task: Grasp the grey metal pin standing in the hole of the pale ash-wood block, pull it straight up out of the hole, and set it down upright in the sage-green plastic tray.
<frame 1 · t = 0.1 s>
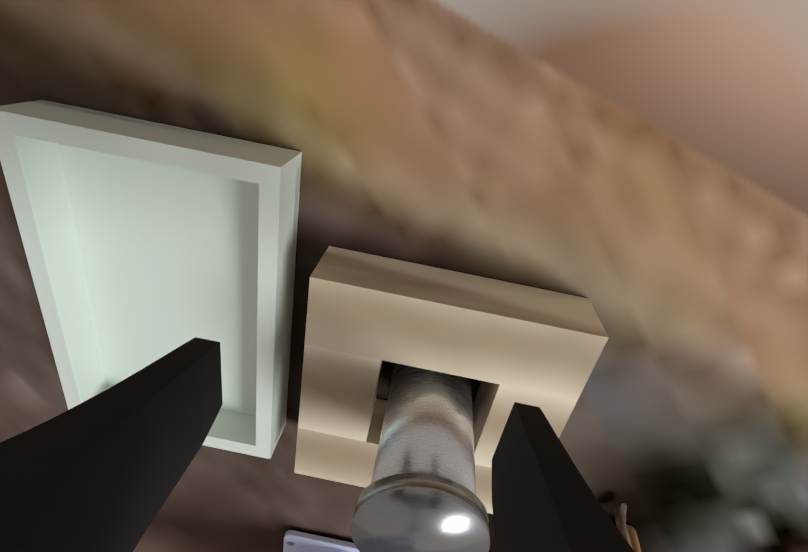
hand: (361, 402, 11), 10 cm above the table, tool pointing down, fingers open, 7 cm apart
metal pin: (426, 438, 19), in the pin block
pin block: (431, 371, 23), on the table
tray: (185, 289, 22), on the table
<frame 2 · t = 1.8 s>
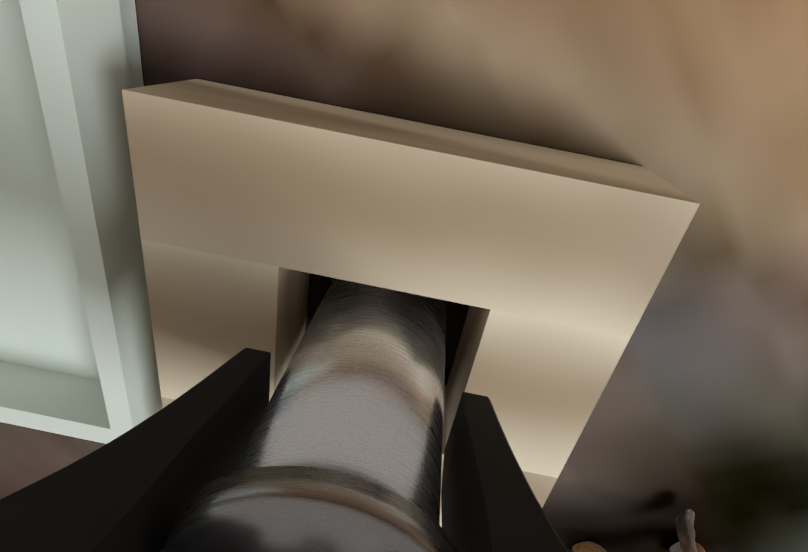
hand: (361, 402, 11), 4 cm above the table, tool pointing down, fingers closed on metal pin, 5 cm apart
metal pin: (360, 407, 11), in the pin block, touching gripper
pin block: (385, 310, 14), on the table
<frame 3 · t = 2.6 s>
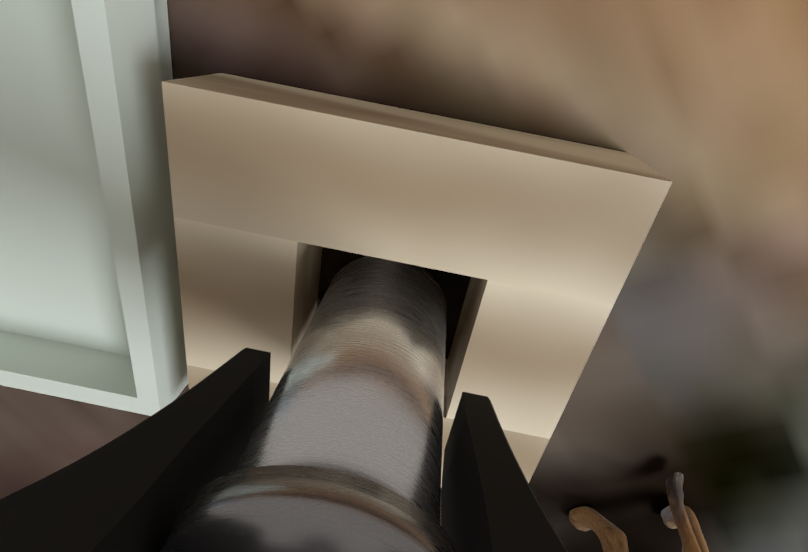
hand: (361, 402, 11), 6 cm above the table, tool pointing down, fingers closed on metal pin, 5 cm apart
metal pin: (360, 407, 11), point 6 cm above the table, touching gripper
pin block: (391, 288, 16), on the table
tray: (22, 161, 15), on the table
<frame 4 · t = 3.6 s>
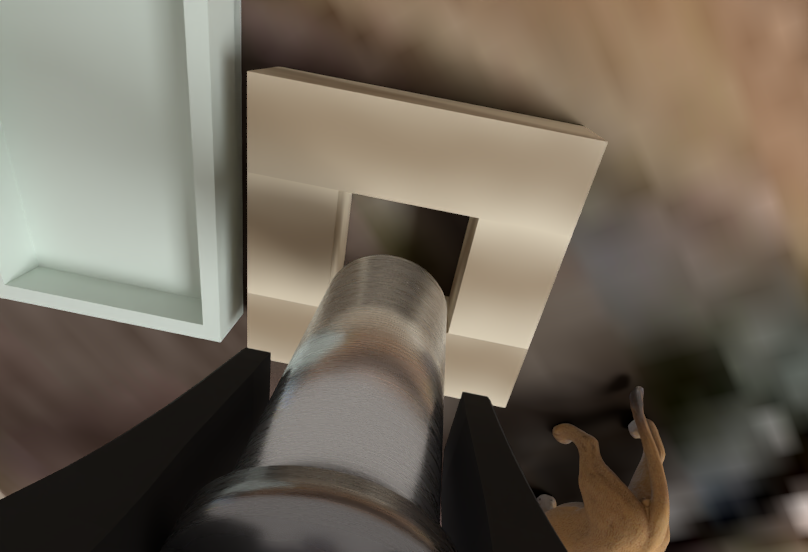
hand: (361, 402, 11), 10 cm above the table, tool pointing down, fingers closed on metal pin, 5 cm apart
lion figurine: (558, 469, 26), on the table
metal pin: (360, 407, 11), point 11 cm above the table, touching gripper
pin block: (404, 236, 20), on the table
tray: (117, 136, 19), on the table
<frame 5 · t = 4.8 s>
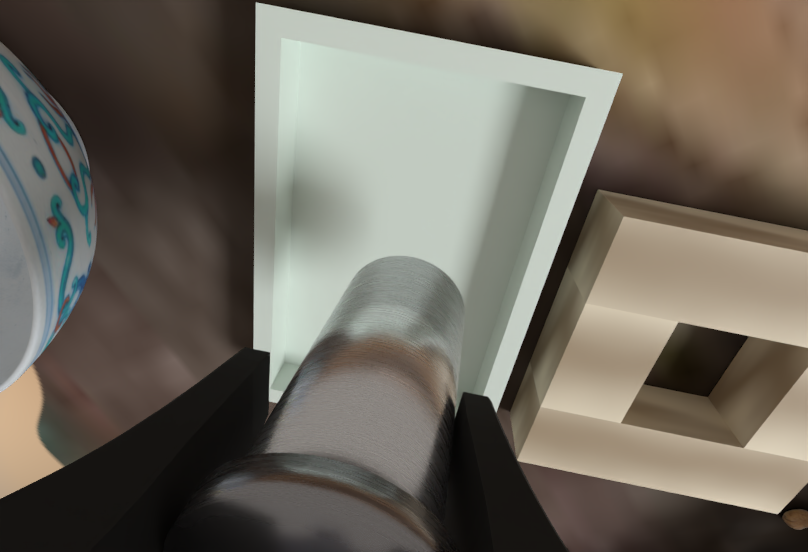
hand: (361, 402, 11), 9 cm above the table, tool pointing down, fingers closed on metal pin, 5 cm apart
lion figurine: (773, 549, 26), on the table
chinaware: (17, 145, 19), on the table
metal pin: (372, 404, 11), point 9 cm above the table, touching gripper
pin block: (679, 343, 20), on the table
tray: (402, 246, 19), on the table
when the fingers open (6 cm above the table, at t = 5.8 s): metal pin drops 1 cm, resting on tray.
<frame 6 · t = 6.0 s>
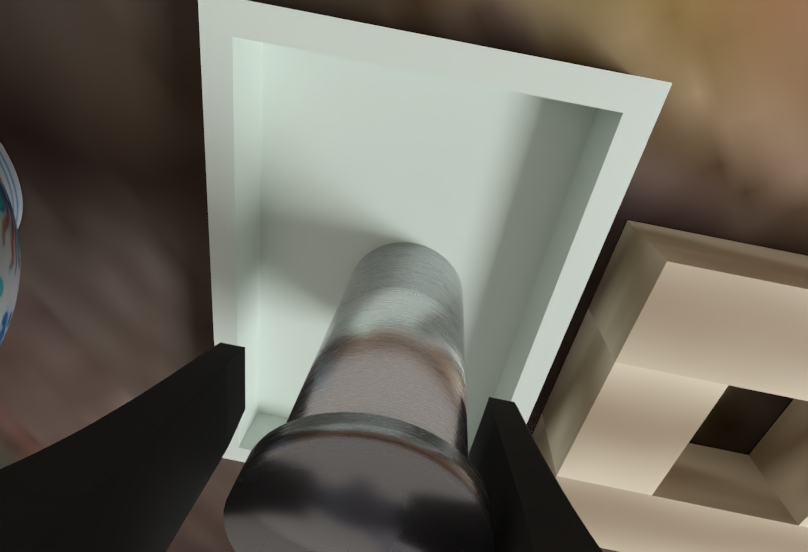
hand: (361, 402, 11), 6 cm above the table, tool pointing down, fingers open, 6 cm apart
metal pin: (389, 378, 12), in the tray, point 5 cm above the table, touching gripper
pin block: (718, 395, 17), on the table
tray: (392, 284, 16), on the table
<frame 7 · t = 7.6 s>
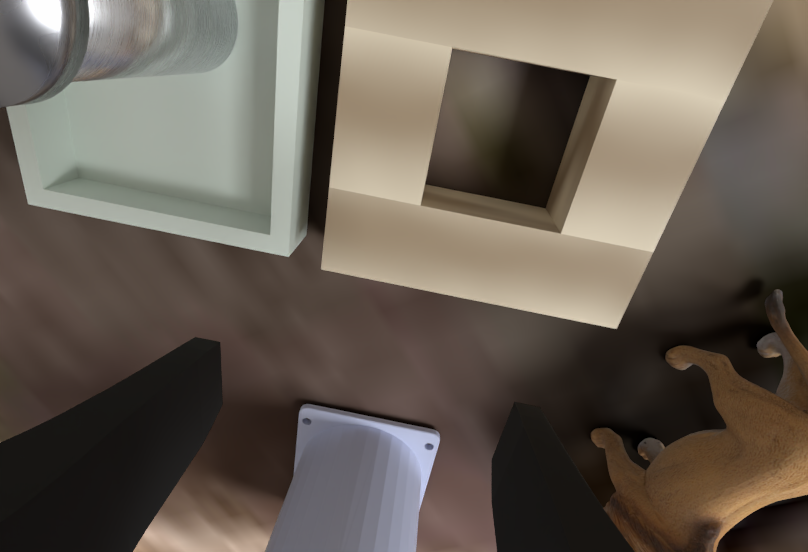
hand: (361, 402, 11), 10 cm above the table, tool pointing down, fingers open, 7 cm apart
lion figurine: (666, 407, 23), on the table
pin block: (501, 133, 18), on the table
tray: (179, 13, 17), on the table
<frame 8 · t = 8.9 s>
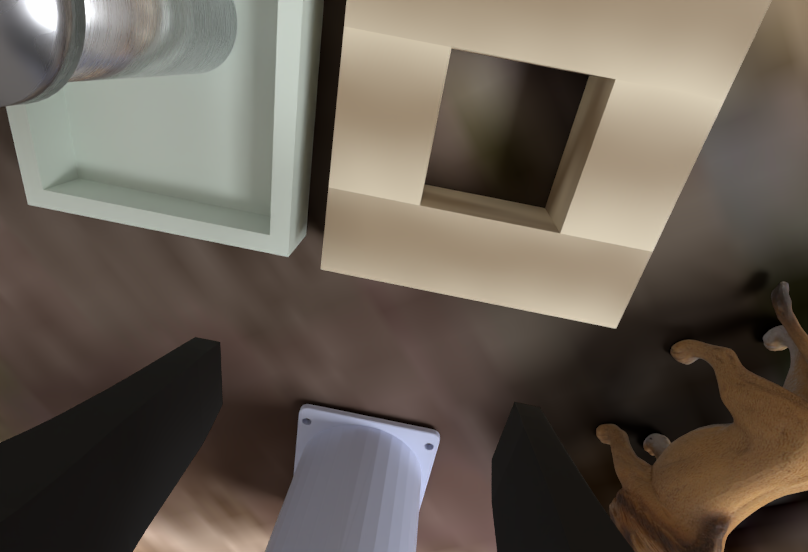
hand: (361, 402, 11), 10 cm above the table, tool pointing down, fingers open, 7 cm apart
lion figurine: (672, 402, 23), on the table
metal pin: (97, 0, 12), in the tray, point 5 cm above the table
pin block: (501, 133, 18), on the table
tray: (179, 13, 17), on the table
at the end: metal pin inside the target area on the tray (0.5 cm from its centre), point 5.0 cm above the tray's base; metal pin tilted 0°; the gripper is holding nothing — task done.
